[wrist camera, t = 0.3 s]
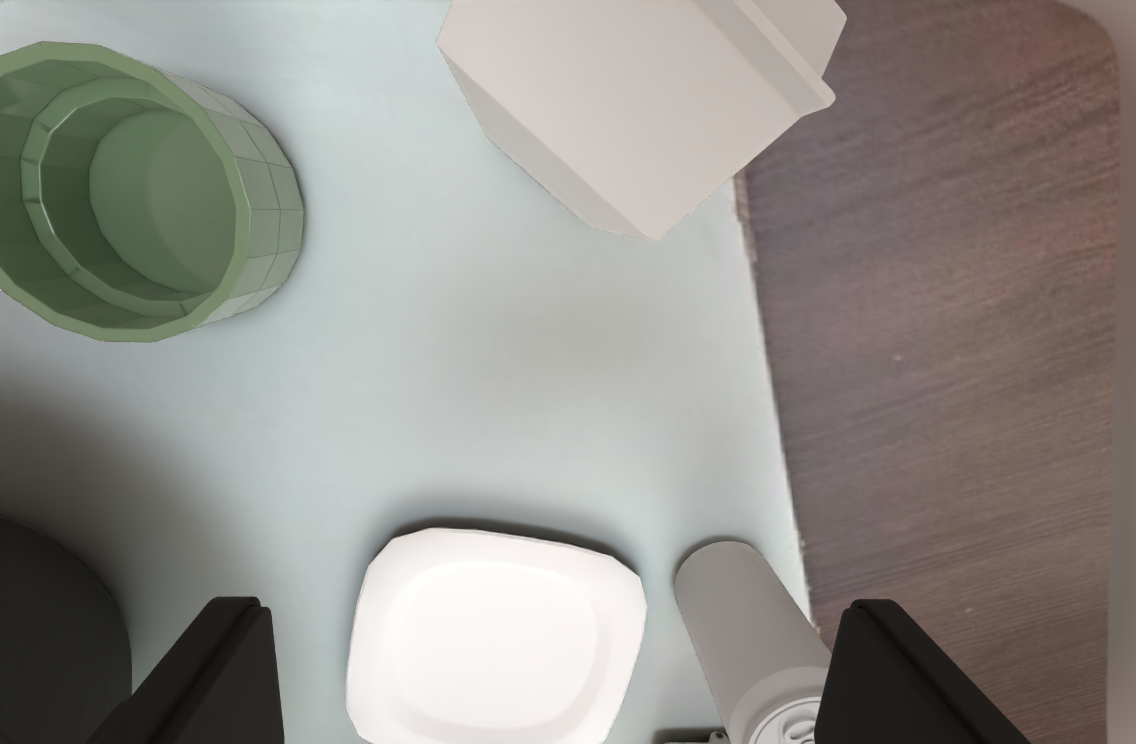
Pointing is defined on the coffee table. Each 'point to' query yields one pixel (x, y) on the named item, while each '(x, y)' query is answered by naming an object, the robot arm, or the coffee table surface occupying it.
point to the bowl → (56, 643)
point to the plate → (492, 640)
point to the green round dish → (136, 196)
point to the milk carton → (638, 93)
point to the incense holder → (710, 739)
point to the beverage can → (752, 645)
